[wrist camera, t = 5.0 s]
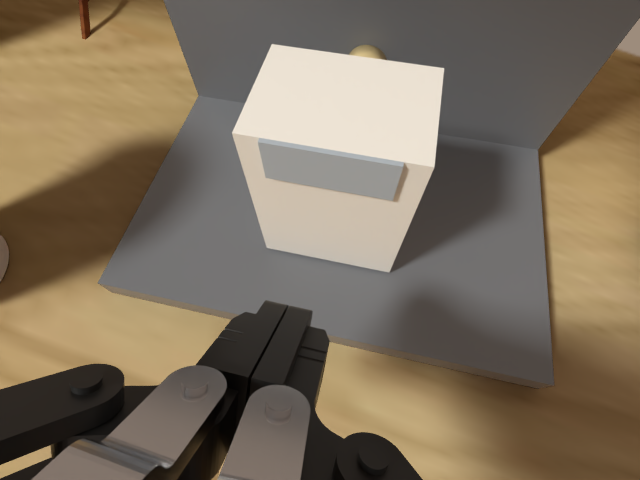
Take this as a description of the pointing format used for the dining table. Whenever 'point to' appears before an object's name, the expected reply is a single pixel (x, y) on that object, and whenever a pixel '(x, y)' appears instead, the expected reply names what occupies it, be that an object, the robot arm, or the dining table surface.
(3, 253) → the coffee cup
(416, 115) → the white box
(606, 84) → the dining table surface
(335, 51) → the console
